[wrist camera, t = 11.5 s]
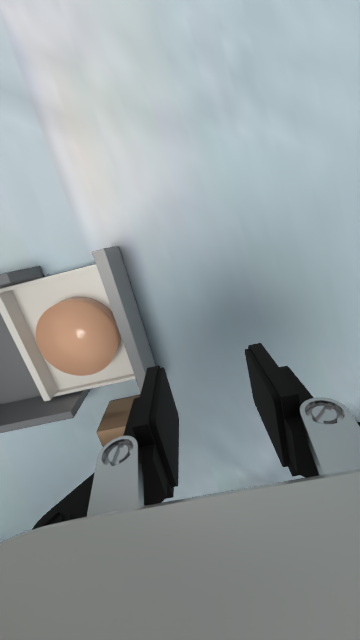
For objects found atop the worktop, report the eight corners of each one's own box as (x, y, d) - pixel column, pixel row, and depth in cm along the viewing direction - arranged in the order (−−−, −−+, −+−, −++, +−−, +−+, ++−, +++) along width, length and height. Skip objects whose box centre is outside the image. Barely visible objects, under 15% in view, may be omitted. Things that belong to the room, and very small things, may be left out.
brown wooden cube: (161, 426, 31) (157, 460, 26) (122, 433, 32) (112, 468, 27) (150, 392, 30) (144, 422, 25) (109, 401, 30) (96, 432, 25)
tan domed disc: (131, 356, 27) (127, 365, 25) (64, 372, 27) (55, 383, 25) (106, 287, 24) (99, 292, 22) (33, 307, 25) (21, 313, 23)
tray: (55, 396, 30) (32, 426, 25) (-2, 277, 25) (-43, 286, 21) (158, 374, 29) (154, 400, 24) (118, 246, 24) (103, 248, 20)
